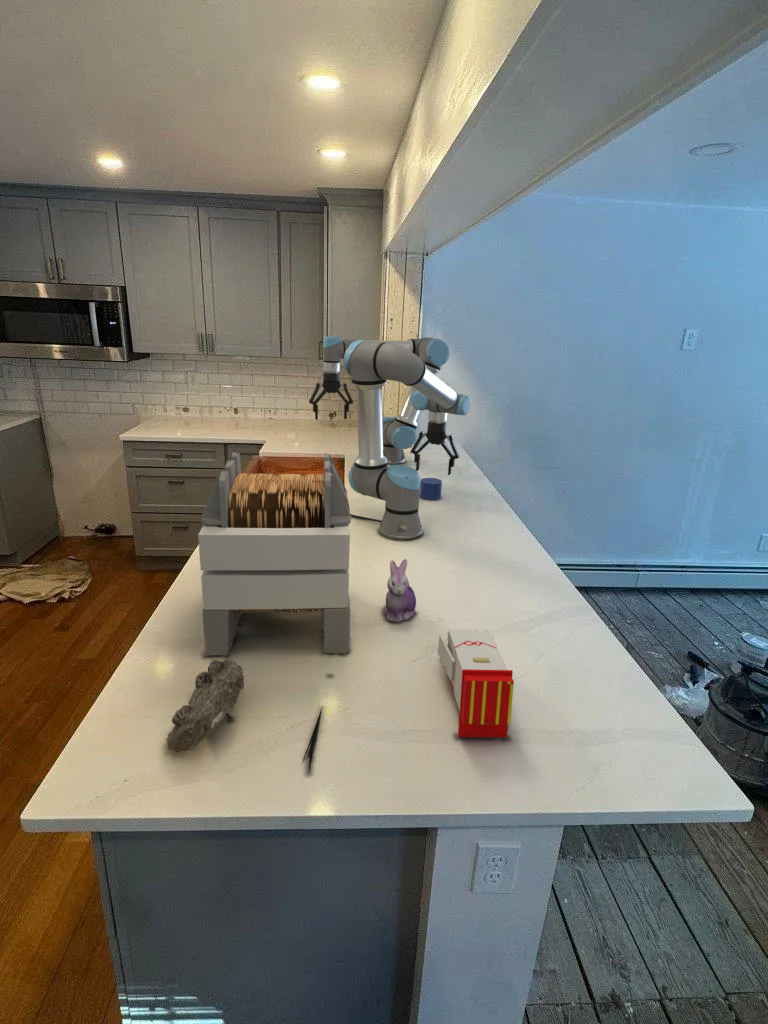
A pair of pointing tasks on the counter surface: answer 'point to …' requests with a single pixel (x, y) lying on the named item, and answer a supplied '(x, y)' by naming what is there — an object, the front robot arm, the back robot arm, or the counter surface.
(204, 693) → the fossil
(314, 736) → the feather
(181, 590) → the counter surface
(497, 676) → the toy
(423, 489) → the canister
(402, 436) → the back robot arm
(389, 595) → the figurine
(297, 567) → the transformer
